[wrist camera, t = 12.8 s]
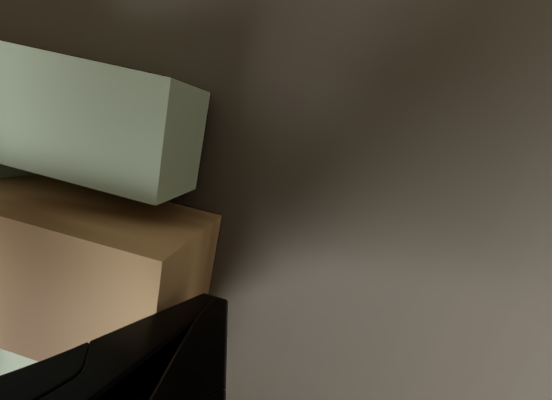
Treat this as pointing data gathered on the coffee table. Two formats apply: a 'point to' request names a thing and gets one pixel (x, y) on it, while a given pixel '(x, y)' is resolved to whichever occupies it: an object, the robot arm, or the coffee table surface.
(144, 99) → the slot block
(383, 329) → the coffee table surface
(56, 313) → the block
